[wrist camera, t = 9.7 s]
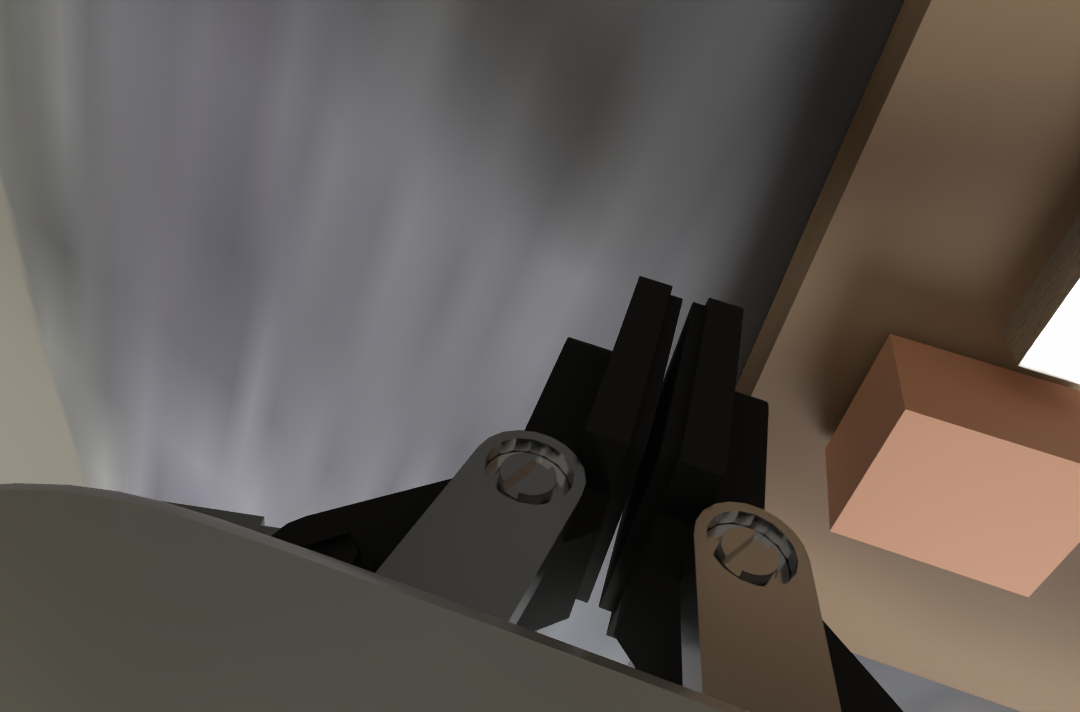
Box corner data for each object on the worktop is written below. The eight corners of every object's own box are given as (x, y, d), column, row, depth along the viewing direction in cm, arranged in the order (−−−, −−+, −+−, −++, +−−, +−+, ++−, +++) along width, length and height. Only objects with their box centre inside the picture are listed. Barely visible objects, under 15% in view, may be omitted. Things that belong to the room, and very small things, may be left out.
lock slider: (825, 449, 13) (829, 531, 12) (890, 333, 12) (905, 409, 10) (999, 504, 13) (1028, 597, 11) (1088, 393, 11) (1136, 480, 10)
